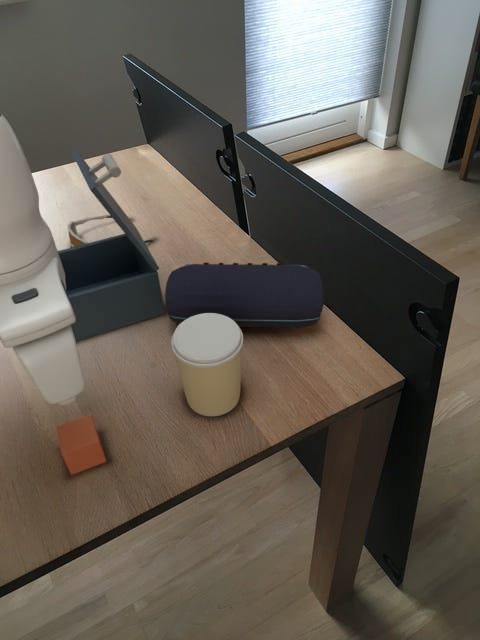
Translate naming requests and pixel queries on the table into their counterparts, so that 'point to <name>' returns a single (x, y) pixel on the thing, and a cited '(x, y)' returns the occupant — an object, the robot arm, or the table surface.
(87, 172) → the lid
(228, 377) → the coffee cup
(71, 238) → the sunglasses
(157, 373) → the table surface
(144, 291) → the open box
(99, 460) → the block
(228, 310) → the portable speaker
